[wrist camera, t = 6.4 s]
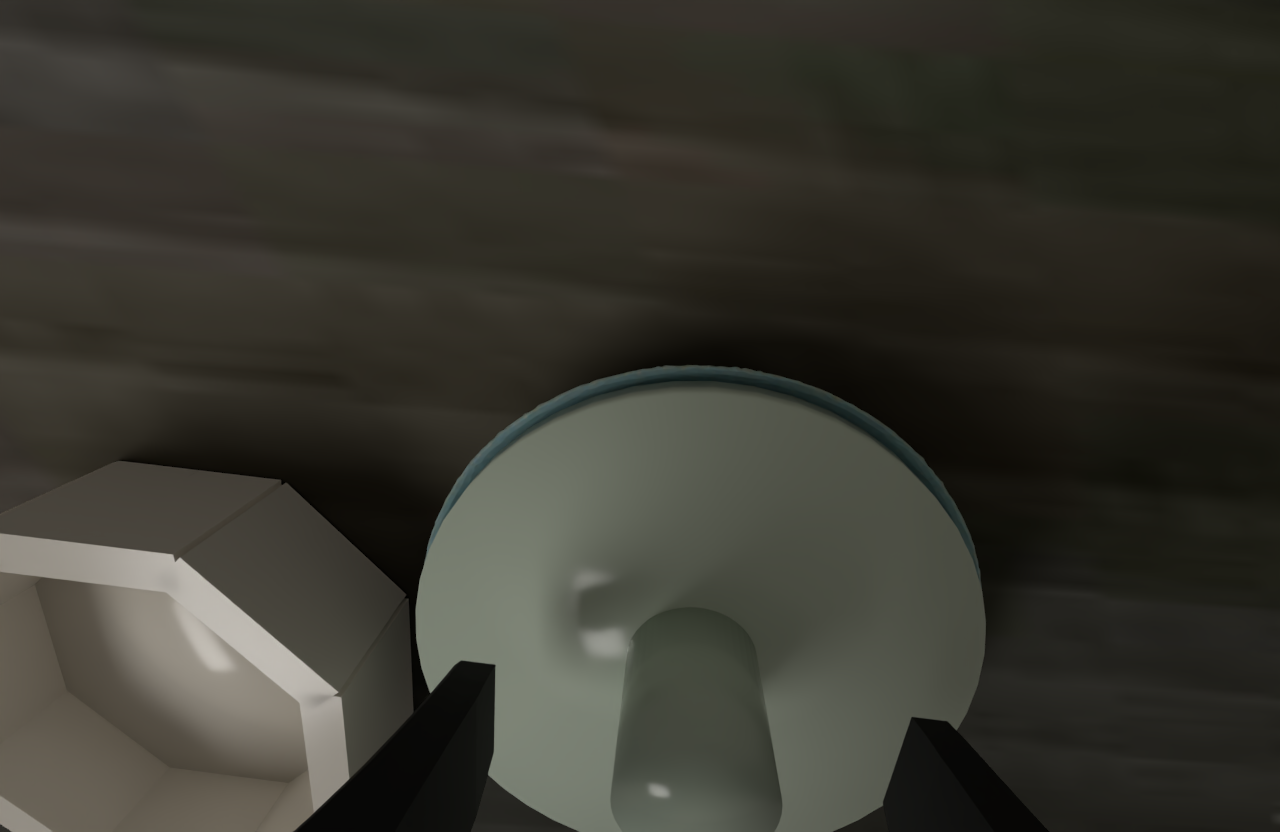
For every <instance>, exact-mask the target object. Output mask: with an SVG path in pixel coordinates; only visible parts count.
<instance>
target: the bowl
mask: <svg viewBox="0 0 1280 832" xmlns="http://www.w3.org/2000/svg"><path fill="white" fill-rule="evenodd" d="M405 596H406V594H405V593H404V592H403V591H402V590H401V589H400V588H399V587H398V586H397V585H396V584H395V583H394V582H393V581H391V580H390V579H389V578H388V577H387V576H386V575H385V574H384V573H383V572H382V571H381V570H380V569H379V568H378V567H376V566H375V565H374V564H373V563H372V562H371V561H370V560H369V559H368V558H367V557H366V556H365V555H364V554H363V553H361V552H360V551H359V550H358V549H357V548H356V547H355V546H354V545H353V544H352V543H351V542H350V541H349V540H347V539H346V538H345V537H344V536H343V535H342V534H341V533H340V532H339V531H338V530H337V529H336V528H335V527H334V526H332V525H331V524H330V523H329V522H328V521H327V520H326V519H325V518H324V517H323V516H322V515H321V514H320V513H319V512H317V511H316V510H315V509H314V508H313V507H312V506H311V505H310V504H309V503H308V502H307V501H306V500H305V499H304V498H302V497H301V496H300V495H299V494H298V493H297V492H296V491H295V490H294V489H293V488H292V487H291V486H290V485H288V484H287V483H285V484H283V485H282V484H281V480H277V479H269V478H261V477H252V476H244V475H235V474H227V473H218V472H210V471H202V470H193V469H185V468H176V467H168V466H160V465H151V464H143V463H134V462H126V461H117V462H113V463H111V464H109V465H106V466H104V467H102V468H100V469H98V470H95V471H93V472H91V473H89V474H87V475H85V476H82V477H80V478H78V479H76V480H74V481H71V482H69V483H67V484H65V485H63V486H60V487H58V488H56V489H54V490H52V491H49V492H47V493H45V494H43V495H41V496H38V497H36V498H34V499H32V500H30V501H27V502H25V503H23V504H21V505H19V506H16V507H14V508H12V509H10V510H8V511H5V512H3V513H1V514H0V824H1V825H3V826H4V827H6V828H7V829H9V830H10V831H12V832H293V831H294V830H296V829H297V828H298V827H299V826H300V825H301V824H302V823H303V822H305V821H306V820H307V819H308V818H309V817H310V816H311V815H312V814H313V813H314V812H315V811H316V810H317V809H318V808H319V807H321V806H322V805H323V804H324V803H325V802H326V801H327V800H328V799H329V798H330V797H331V796H332V795H333V794H334V793H335V792H336V791H337V790H338V789H339V788H340V787H341V786H342V785H344V784H345V783H346V782H347V781H348V780H349V779H350V778H351V777H352V776H353V775H354V774H355V773H356V772H357V771H358V770H359V769H360V768H361V767H362V766H363V765H364V764H365V763H366V762H367V761H368V760H369V759H370V758H371V757H372V756H373V755H374V754H375V753H376V752H377V751H378V750H379V748H380V747H381V746H382V745H383V744H384V743H385V742H386V741H387V740H388V739H389V738H390V737H391V736H392V735H393V734H394V733H395V732H396V731H397V730H398V729H399V728H400V727H401V725H402V724H403V723H404V722H405V721H406V720H407V719H408V718H409V717H410V716H411V715H412V713H413V712H414V711H413V687H412V664H411V641H410V618H409V599H407V598H405Z"/></svg>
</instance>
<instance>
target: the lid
mask: <svg viewBox="0 0 1280 832" xmlns="http://www.w3.org/2000/svg"><path fill="white" fill-rule="evenodd" d="M985 635H986V619H985V610H984V602H983V593H982V589H981V585H980V582H979V579H978V575H977V572H976V569H975V565H974V562H973V559H972V557H971V555H970V553H969V551H968V549H967V547H966V545H965V543H964V541H963V538H962V536H961V534H960V532H959V530H958V528H957V527H956V525H955V524H954V523H953V521H952V520H951V518H950V517H949V516H948V514H947V513H946V511H945V510H944V508H943V507H942V506H941V504H940V503H939V501H938V500H937V499H936V497H935V496H934V495H933V494H932V493H931V492H930V491H929V490H928V488H927V487H926V486H925V485H924V484H923V483H922V482H921V480H920V479H919V478H918V477H917V476H916V475H915V474H914V473H913V472H912V471H911V470H910V469H909V468H908V467H907V466H906V465H905V464H904V463H903V462H902V461H901V460H900V459H899V458H898V457H897V456H896V454H895V453H894V452H892V451H891V450H890V449H888V448H887V447H886V446H884V445H883V444H882V443H880V442H879V441H878V440H877V439H875V438H874V437H873V436H871V435H870V434H869V433H867V432H866V431H865V430H863V429H862V428H860V427H858V426H856V425H854V424H853V423H851V422H849V421H847V420H846V419H844V418H842V417H840V416H839V415H837V414H835V413H833V412H832V411H829V410H827V409H824V408H822V407H819V406H817V405H814V404H812V403H809V402H807V401H804V400H802V399H799V398H797V397H794V396H791V395H787V394H783V393H779V392H775V391H772V390H768V389H764V388H760V387H756V386H749V385H741V384H733V383H725V382H717V381H670V382H663V383H655V384H647V385H639V386H632V387H628V388H625V389H621V390H617V391H613V392H609V393H605V394H602V395H598V396H594V397H592V398H589V399H587V400H584V401H582V402H580V403H577V404H575V405H572V406H570V407H567V408H565V409H562V410H560V411H558V412H556V413H555V414H553V415H551V416H549V417H548V418H546V419H544V420H542V421H541V422H539V423H537V424H535V425H534V426H532V427H530V428H528V429H527V430H526V431H524V432H523V433H522V434H520V435H519V436H518V437H517V438H515V439H514V440H513V441H511V442H510V443H509V444H508V445H506V446H505V447H504V448H502V449H501V450H500V451H499V452H498V453H497V454H496V455H495V456H494V457H493V458H492V459H491V460H490V461H489V462H488V463H487V464H486V465H485V466H484V468H483V469H482V470H481V471H480V472H479V473H478V474H477V475H476V476H475V478H474V479H473V480H472V482H471V483H470V484H469V486H468V487H467V488H466V490H465V491H464V492H463V494H462V495H461V496H460V498H459V499H458V501H457V502H456V503H455V505H454V506H453V508H452V509H451V510H450V512H449V513H448V515H447V516H446V518H445V519H444V520H443V522H442V524H441V526H440V528H439V530H438V532H437V534H436V536H435V538H434V540H433V542H432V544H431V546H430V549H429V551H428V554H427V557H426V561H425V564H424V567H423V570H422V574H421V577H420V581H419V588H418V596H417V603H416V640H417V646H418V651H419V657H420V662H421V668H422V671H423V674H424V677H425V680H426V683H427V685H428V688H429V691H430V693H431V692H432V691H433V690H434V689H435V688H436V686H437V685H438V684H439V683H440V682H441V681H442V679H443V678H444V677H445V676H446V675H447V673H448V672H449V671H450V670H451V669H452V667H453V666H454V665H455V664H457V663H458V662H459V661H461V660H463V661H471V662H479V663H487V664H495V665H496V667H495V721H494V754H493V757H492V761H491V765H490V768H489V772H488V775H489V776H490V777H491V778H492V779H494V780H495V781H496V782H497V783H498V784H499V785H500V786H501V787H503V788H504V789H505V790H507V791H508V792H510V793H511V794H512V795H514V796H515V797H517V798H518V799H519V800H521V801H522V802H524V803H525V804H526V805H528V806H530V807H531V808H533V809H535V810H537V811H538V812H540V813H542V814H544V815H546V816H547V817H549V818H551V819H553V820H555V821H557V822H559V823H561V824H564V825H566V826H568V827H570V828H573V829H575V830H577V831H579V832H833V831H835V830H837V829H839V828H842V827H844V826H846V825H848V824H850V823H853V822H855V821H857V820H859V819H861V818H862V817H864V816H866V815H867V814H869V813H871V812H873V811H874V810H876V809H878V808H879V807H881V806H883V800H884V797H885V794H886V791H887V788H888V785H889V782H890V779H891V776H892V773H893V770H894V767H895V764H896V761H897V758H898V756H899V753H900V750H901V747H902V744H903V741H904V738H905V735H906V732H907V729H908V726H909V723H910V720H911V717H918V718H926V719H934V720H942V721H948V722H949V723H950V724H951V725H952V726H953V727H954V728H955V730H956V731H957V729H958V727H959V725H960V724H961V722H962V720H963V719H964V717H965V715H966V713H967V711H968V708H969V706H970V703H971V701H972V698H973V696H974V693H975V691H976V688H977V686H978V682H979V677H980V673H981V668H982V664H983V659H984V654H985Z"/></svg>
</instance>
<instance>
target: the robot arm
mask: <svg viewBox="0 0 1280 832" xmlns="http://www.w3.org/2000/svg"><path fill="white" fill-rule="evenodd" d="M495 667H496V665H495V664H487V663H479V662H471V661H463V660H461V661H459V662H458V663H457V664H455V665H454V666H453V667H452V669H451V670H450V671H449V672H448V673H447V675H446V676H445V677H444V678H443V679H442V681H441V682H440V683H439V684H438V685H437V686H436V688H435V689H434V690H433V691H432V692H431V693H430V694H429V696H428V697H427V698H426V699H425V700H424V701H423V702H422V703H421V705H420V706H419V707H418V708H417V709H416V710H415V711H414V712H413V713H412V715H411V716H410V717H409V718H408V719H407V720H406V721H405V722H404V723H403V724H402V725H401V727H400V728H399V729H398V730H397V731H396V732H395V733H394V734H393V735H392V736H391V737H390V738H389V739H388V740H387V741H386V742H385V743H384V744H383V745H382V746H381V747H380V748H379V750H378V751H377V752H376V753H375V754H374V755H373V756H372V757H371V758H370V759H369V760H368V761H367V762H366V763H365V764H364V765H363V766H362V767H361V768H360V769H359V770H358V771H357V772H356V773H355V774H354V775H353V776H352V777H351V778H350V779H349V780H348V781H347V782H346V783H345V784H344V785H342V786H341V787H340V788H339V789H338V790H337V791H336V792H335V793H334V794H333V795H332V796H331V797H330V798H329V799H328V800H327V801H326V802H325V803H324V804H323V805H322V806H321V807H319V808H318V809H317V810H316V811H315V812H314V813H313V814H312V815H311V816H310V817H309V818H308V819H307V820H306V821H305V822H303V823H302V824H301V825H300V826H299V827H298V828H297V829H296V830H294V831H293V832H470V831H471V829H472V826H473V823H474V821H475V818H476V815H477V811H478V808H479V804H480V801H481V797H482V794H483V790H484V787H485V783H486V779H487V776H488V772H489V768H490V765H491V761H492V757H493V754H494V721H495ZM883 806H884V810H885V815H886V820H887V824H888V829H889V832H1049V831H1048V830H1047V829H1046V828H1045V827H1044V826H1043V825H1042V824H1041V822H1040V821H1039V820H1038V819H1037V818H1036V817H1035V816H1034V815H1033V814H1032V813H1031V812H1030V811H1029V809H1028V808H1027V807H1026V806H1025V805H1024V804H1023V803H1022V802H1021V801H1020V800H1019V799H1018V797H1017V796H1016V795H1015V794H1014V793H1013V792H1012V791H1011V790H1010V789H1009V788H1008V786H1007V785H1006V784H1005V783H1004V782H1003V781H1002V780H1001V779H1000V778H999V777H998V775H997V774H996V773H995V772H994V771H993V770H992V769H991V768H990V767H989V766H988V764H987V763H986V762H985V761H984V760H983V759H982V758H981V757H980V756H979V754H978V753H977V752H976V751H975V750H974V749H973V748H972V747H971V746H970V745H969V744H968V742H967V741H966V740H965V739H964V738H963V737H962V736H961V735H960V734H959V733H958V732H957V731H956V730H955V728H954V727H953V726H952V725H951V724H950V723H949V722H948V721H942V720H934V719H926V718H918V717H911V720H910V723H909V726H908V729H907V732H906V735H905V738H904V741H903V744H902V747H901V750H900V753H899V756H898V758H897V761H896V764H895V767H894V770H893V773H892V776H891V779H890V782H889V785H888V788H887V791H886V794H885V797H884V800H883Z"/></svg>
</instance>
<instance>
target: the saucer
mask: <svg viewBox="0 0 1280 832" xmlns="http://www.w3.org/2000/svg"><path fill="white" fill-rule="evenodd" d="M670 381H717V382H725V383H733V384H741V385H749V386H756V387H760V388H764V389H768V390H772V391H775V392H779V393H783V394H787V395H791V396H794V397H797V398H799V399H802V400H804V401H807V402H809V403H812V404H814V405H817V406H819V407H822V408H824V409H827V410H829V411H832V412H833V413H835V414H837V415H839V416H840V417H842V418H844V419H846V420H847V421H849V422H851V423H853V424H854V425H856V426H858V427H860V428H862V429H863V430H865V431H866V432H867V433H869V434H870V435H871V436H873V437H874V438H875V439H877V440H878V441H879V442H880V443H882V444H883V445H884V446H886V447H887V448H888V449H890V450H891V451H892V452H894V453H895V454H896V456H897V457H898V458H899V459H900V460H901V461H902V462H903V463H904V464H905V465H906V466H907V467H908V468H909V469H910V470H911V471H912V472H913V473H914V474H915V475H916V476H917V477H918V478H919V479H920V480H921V482H922V483H923V484H924V485H925V486H926V487H927V488H928V490H929V491H930V492H931V493H932V494H933V495H934V496H935V497H936V499H937V500H938V501H939V503H940V504H941V506H942V507H943V508H944V510H945V511H946V513H947V514H948V516H949V517H950V518H951V520H952V521H953V523H954V524H955V525H956V527H957V528H958V530H959V532H960V534H961V536H962V538H963V541H964V543H965V545H966V547H967V549H968V551H969V553H970V555H971V557H972V559H973V562H974V565H975V569H976V572H977V575H978V579H979V582H980V585H981V580H980V569H979V566H978V559H977V556H976V553H975V546H974V544H973V541H972V539H971V535H970V533H969V531H968V529H967V526H966V524H965V521H964V519H963V517H962V515H961V513H960V512H959V510H958V508H957V506H956V504H955V502H954V500H953V499H952V498H951V496H950V495H949V494H948V492H947V490H946V488H945V487H944V484H943V482H942V481H940V479H939V478H938V477H937V476H936V475H935V473H934V472H933V470H932V469H931V468H930V467H928V465H927V463H926V462H925V460H924V458H923V457H922V456H920V455H919V454H918V453H916V452H915V451H914V450H913V448H912V447H911V446H909V445H908V444H907V443H906V442H905V441H904V440H903V439H902V438H900V437H899V436H898V435H897V434H896V433H895V432H894V431H893V430H891V429H890V428H889V427H887V426H886V425H884V424H883V423H881V422H880V421H879V420H877V419H876V418H874V417H873V416H871V415H870V414H868V413H866V412H864V411H862V410H860V409H859V408H857V407H856V406H854V405H853V404H850V403H848V402H846V401H844V400H842V399H841V398H839V397H837V396H834V395H833V394H831V393H829V392H826V391H824V390H821V389H819V388H816V387H814V386H810V385H807V384H804V383H802V382H800V381H797V380H792V379H789V378H785V377H782V376H778V375H773V374H768V373H763V372H762V371H754V370H752V369H747V368H743V369H740V368H739V367H730V368H729V367H723V366H717V367H715V366H711V365H707V366H698V365H685V366H667V365H665V366H663V367H659V366H658V367H655V368H649V369H641V370H636V371H630V372H626V373H623V374H618V375H614V376H610V377H606V378H602V379H598V380H595V381H593V382H591V383H588V384H583V385H581V386H578V387H575V388H573V389H571V390H569V391H567V392H564V393H562V394H560V395H558V396H556V397H555V398H553V399H551V400H549V401H547V402H545V403H542V404H539V405H538V406H537V407H536V408H535V409H533V410H532V411H530V412H528V413H525V414H524V415H523V416H522V417H520V418H519V419H517V420H516V421H514V422H513V423H512V424H510V425H509V426H507V427H506V428H505V429H504V430H503V431H501V432H499V433H498V434H497V435H496V437H495V438H494V439H493V440H491V441H490V442H489V443H488V444H487V445H486V446H485V447H484V448H482V449H481V450H480V452H479V453H478V454H477V455H476V456H475V457H474V458H473V459H472V460H471V461H470V463H469V464H468V466H467V467H466V469H465V470H464V472H463V473H462V475H461V476H460V477H459V478H458V479H457V481H456V483H455V485H454V486H453V488H452V490H451V492H450V493H449V495H448V496H447V498H446V500H445V502H444V505H443V507H442V509H441V511H440V513H439V515H438V518H437V519H436V521H435V526H434V528H433V530H432V533H431V536H430V539H429V543H428V546H427V553H426V557H427V554H428V551H429V549H430V546H431V544H432V542H433V540H434V538H435V536H436V534H437V532H438V530H439V528H440V526H441V524H442V522H443V520H444V519H445V518H446V516H447V515H448V513H449V512H450V510H451V509H452V508H453V506H454V505H455V503H456V502H457V501H458V499H459V498H460V496H461V495H462V494H463V492H464V491H465V490H466V488H467V487H468V486H469V484H470V483H471V482H472V480H473V479H474V478H475V476H476V475H477V474H478V473H479V472H480V471H481V470H482V469H483V468H484V466H485V465H486V464H487V463H488V462H489V461H490V460H491V459H492V458H493V457H494V456H495V455H496V454H497V453H498V452H499V451H500V450H501V449H502V448H504V447H505V446H506V445H508V444H509V443H510V442H511V441H513V440H514V439H515V438H517V437H518V436H519V435H520V434H522V433H523V432H524V431H526V430H527V429H528V428H530V427H532V426H534V425H535V424H537V423H539V422H541V421H542V420H544V419H546V418H548V417H549V416H551V415H553V414H555V413H556V412H558V411H560V410H562V409H565V408H567V407H570V406H572V405H575V404H577V403H580V402H582V401H584V400H587V399H589V398H592V397H594V396H598V395H602V394H605V393H609V392H613V391H617V390H621V389H625V388H628V387H632V386H639V385H647V384H655V383H663V382H670ZM425 561H426V558H425ZM424 564H425V562H424ZM981 589H982V586H981Z"/></svg>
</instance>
